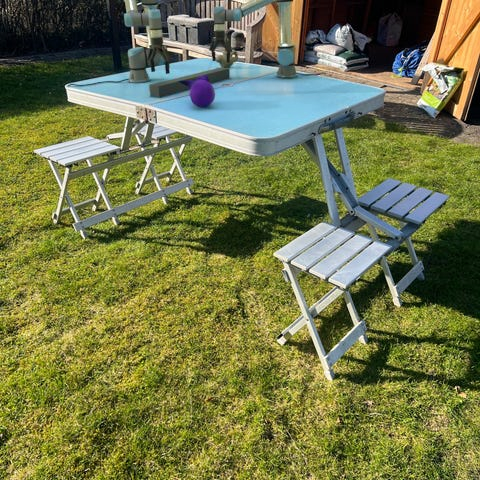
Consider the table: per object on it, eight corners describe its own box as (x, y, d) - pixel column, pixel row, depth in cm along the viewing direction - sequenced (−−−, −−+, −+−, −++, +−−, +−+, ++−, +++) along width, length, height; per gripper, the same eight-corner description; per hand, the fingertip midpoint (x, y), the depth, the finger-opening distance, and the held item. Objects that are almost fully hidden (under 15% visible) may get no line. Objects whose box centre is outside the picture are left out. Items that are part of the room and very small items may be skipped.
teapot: (219, 70, 373) (218, 50, 365) (212, 68, 382) (211, 49, 374) (241, 67, 382) (240, 48, 375) (234, 65, 391) (233, 46, 383)
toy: (202, 98, 286) (215, 113, 265) (176, 93, 278) (186, 109, 258) (208, 73, 277) (221, 86, 257) (180, 67, 270) (192, 81, 249)
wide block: (159, 97, 291) (158, 86, 287) (150, 96, 295) (149, 84, 291) (229, 78, 342) (229, 68, 338) (221, 77, 346) (220, 67, 342)
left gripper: (175, 37, 278) (178, 73, 288) (147, 35, 291) (151, 70, 302) (166, 38, 273) (169, 75, 283) (138, 36, 286) (143, 71, 297)
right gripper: (236, 30, 320) (237, 62, 331) (210, 29, 333) (211, 59, 344) (230, 31, 315) (231, 63, 326) (203, 30, 328) (205, 61, 339)
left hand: (160, 72), depth 292 cm, fingers open, 13 cm apart
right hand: (221, 61), depth 335 cm, fingers open, 13 cm apart
